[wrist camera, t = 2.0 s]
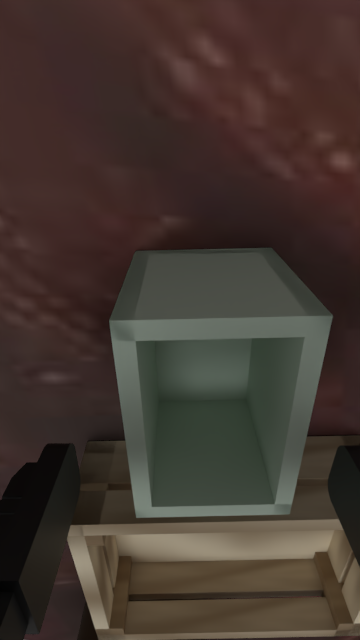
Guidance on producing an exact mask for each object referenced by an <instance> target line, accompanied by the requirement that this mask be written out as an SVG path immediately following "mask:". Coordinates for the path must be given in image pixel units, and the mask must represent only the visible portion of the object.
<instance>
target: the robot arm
mask: <svg viewBox="0 0 360 640" xmlns="http://www.w3.org/2000/svg"><path fill="white" fill-rule="evenodd" d="M80 485H81V479H80V472H79V467H78V462H77V456H76V451H75V446H74V444H47V445H46V446H45V447H44V449H43V451H42V453H41V456H40V458H39V460H38V462H37V463H26V464H25V465H24V466H23V467H22V468H21V469H20V470H19V471H18V472H17V473H16V474H15V475H14V476H13V477H12V478H11V480H10V482H9V484H8V486H7V488H6V490H5V492H4V494H3V496H2V500H0V640H23V639H24V635H25V634H39V633H40V630H41V626H42V623H43V620H44V616H45V613H46V609H47V606H48V602H49V599H50V595H51V592H52V588H53V585H54V582H55V578H56V575H57V571H58V568H59V564H60V561H61V557H62V554H63V550H64V547H65V544H66V540H67V537H68V533H69V530H70V526H71V523H72V519H73V516H74V513H75V509H76V506H77V502H78V498H79V494H80ZM328 492H329V497H330V500H331V502H332V505H333V507H334V509H335V512H336V514H337V516H338V518H339V521H340V523H341V525H342V528H343V530H344V532H345V535H346V537H347V539H348V542H349V544H350V546H351V549H352V551H353V553H354V555H355V558H356V560H357V562H358V565H359V567H360V446H355V445H341V446H339V447H338V448H337V451H336V454H335V457H334V461H333V464H332V467H331V471H330V474H329V477H328Z"/></svg>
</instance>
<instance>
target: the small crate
mask: <svg viewBox="0 0 360 640" xmlns="http://www.w3.org/2000/svg"><path fill="white" fill-rule="evenodd" d="M332 318H333V315H332V314H331V313H330V312H329V311H328V310H327V308H326V307H325V306H324V305H323V304H322V303H321V302H320V301H319V300H318V298H317V297H316V296H315V295H314V294H313V293H312V292H311V291H310V290H309V288H308V287H307V286H306V285H305V284H304V283H303V282H302V281H301V280H300V279H299V277H298V276H297V275H296V274H295V273H294V272H293V271H292V270H291V269H290V267H289V266H288V265H287V264H286V263H285V262H284V261H283V260H282V259H281V258H280V256H279V255H278V254H277V253H276V252H275V251H274V250H273V249H272V248H235V249H193V250H151V251H135V253H134V256H133V259H132V261H131V264H130V267H129V269H128V272H127V275H126V277H125V280H124V282H123V285H122V288H121V290H120V293H119V296H118V298H117V301H116V304H115V306H114V309H113V312H112V314H111V317H110V320H109V324H110V332H111V339H112V346H113V354H114V361H115V368H116V375H117V383H118V390H119V397H120V404H121V412H122V419H123V426H124V434H125V441H126V448H127V455H128V463H129V470H130V477H131V484H132V492H133V499H134V506H135V514H136V518H151V517H196V516H241V515H285V514H290V511H291V506H292V502H293V497H294V493H295V488H296V483H297V479H298V474H299V470H300V465H301V460H302V456H303V451H304V447H305V442H306V437H307V433H308V428H309V424H310V419H311V414H312V410H313V405H314V401H315V396H316V391H317V387H318V382H319V378H320V373H321V368H322V364H323V359H324V355H325V350H326V345H327V341H328V336H329V332H330V327H331V322H332Z"/></svg>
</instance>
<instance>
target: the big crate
mask: <svg viewBox="0 0 360 640" xmlns="http://www.w3.org/2000/svg"><path fill="white" fill-rule="evenodd" d="M341 445H355V446H360V435H352V436H308V437H306V442H305V447H304V451H303V456H302V460H301V465H300V470H299V474H298V479H297V483H296V488H295V493H294V497H293V502H292V506H291V511H290V514H285V515H241V516H196V517H151V518H136V514H135V506H134V499H133V492H132V484H131V477H130V470H129V463H128V455H127V448H126V441H88V442H87V445H86V449H85V452H84V456H83V459H82V462H81V466H80V469H79V472H80V479H81V485H80V494H79V498H78V502H77V506H76V509H75V513H74V516H73V519H72V523H71V526H70V530H69V533H68V537H67V541H68V544H69V547H70V550H71V553H72V557H73V560H74V563H75V566H76V569H77V573H78V576H79V579H80V582H81V585H82V589H83V592H84V595H85V598H86V601H87V605H88V608H89V611H90V614H91V617H92V620H93V624H94V627H95V630H96V633H97V636H98V640H176V639H222V638H269V637H315V636H360V567H359V565H358V562H357V560H356V558H355V555H354V553H353V551H352V549H351V546H350V544H349V542H348V539H347V537H346V535H345V532H344V530H343V528H342V525H341V523H340V521H339V518H338V516H337V514H336V512H335V509H334V507H333V505H332V502H331V500H330V497H329V492H328V477H329V474H330V471H331V467H332V464H333V461H334V457H335V454H336V451H337V448H338V447H339V446H341ZM290 596H321V597H310V598H264V599H218V600H172V601H130V600H152V599H198V598H244V597H290Z"/></svg>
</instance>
